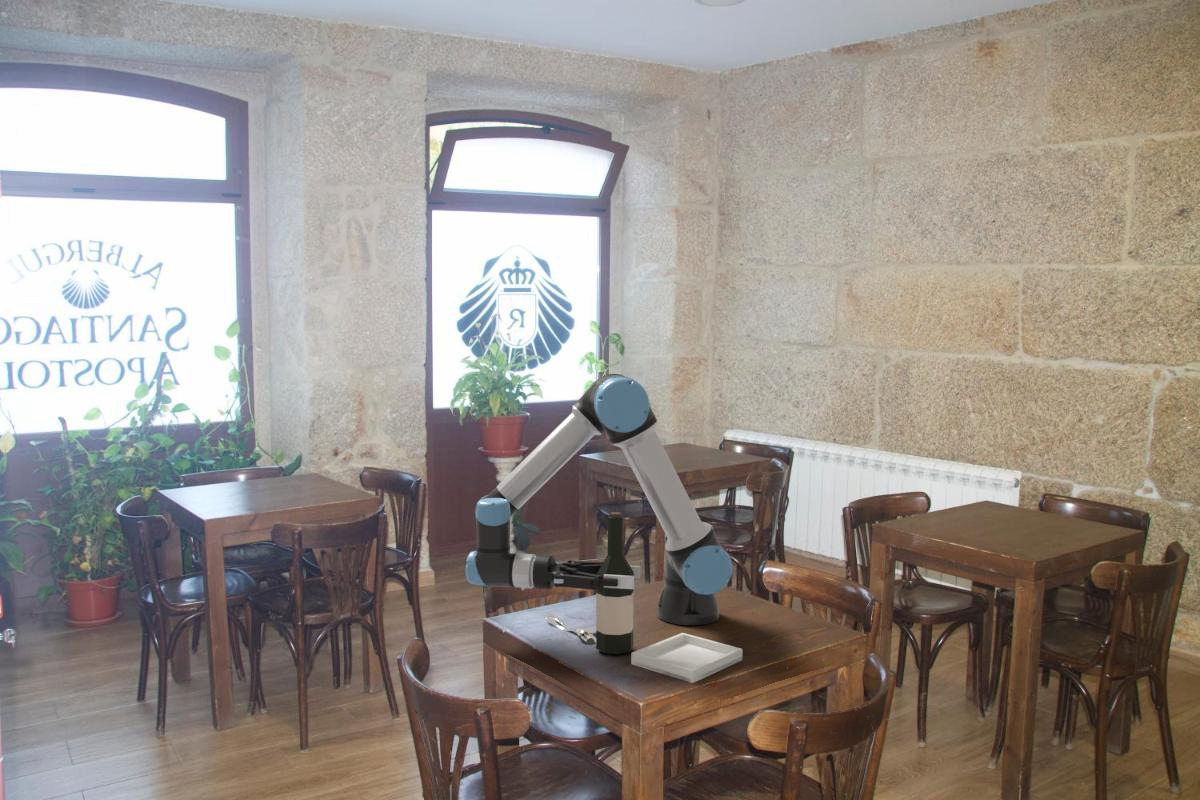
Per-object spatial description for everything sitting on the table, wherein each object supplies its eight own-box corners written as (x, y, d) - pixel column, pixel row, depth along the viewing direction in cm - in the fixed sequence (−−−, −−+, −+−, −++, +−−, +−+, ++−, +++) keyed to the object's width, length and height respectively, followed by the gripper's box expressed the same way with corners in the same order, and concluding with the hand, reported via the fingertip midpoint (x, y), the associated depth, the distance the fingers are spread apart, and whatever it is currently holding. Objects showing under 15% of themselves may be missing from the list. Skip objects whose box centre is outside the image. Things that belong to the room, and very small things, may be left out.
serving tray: (682, 643, 228) (682, 632, 228) (742, 660, 218) (742, 648, 217) (631, 664, 215) (631, 652, 215) (692, 683, 204) (692, 671, 204)
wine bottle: (588, 649, 222) (588, 514, 219) (609, 638, 229) (609, 507, 226) (620, 656, 217) (621, 518, 214) (640, 645, 224) (641, 512, 221)
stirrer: (540, 607, 243) (557, 604, 245) (539, 621, 243) (556, 618, 246) (585, 635, 226) (603, 631, 229) (585, 650, 227) (602, 646, 229)
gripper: (547, 576, 235) (644, 581, 231) (523, 601, 215) (628, 608, 211) (547, 544, 235) (644, 549, 230) (522, 566, 215) (629, 572, 210)
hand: (636, 577), depth 221 cm, fingers closed on wine bottle, 8 cm apart
